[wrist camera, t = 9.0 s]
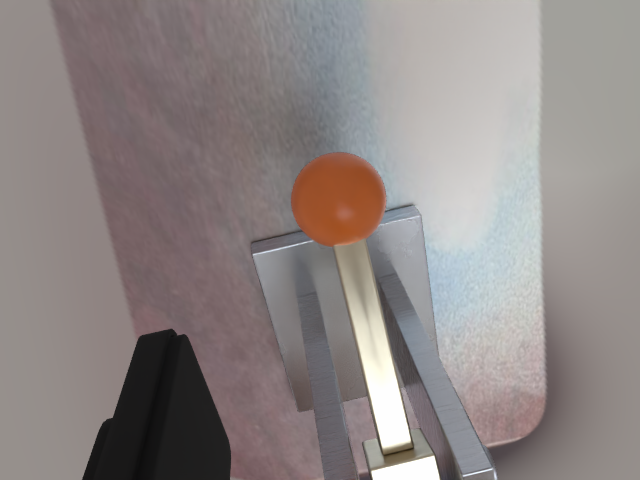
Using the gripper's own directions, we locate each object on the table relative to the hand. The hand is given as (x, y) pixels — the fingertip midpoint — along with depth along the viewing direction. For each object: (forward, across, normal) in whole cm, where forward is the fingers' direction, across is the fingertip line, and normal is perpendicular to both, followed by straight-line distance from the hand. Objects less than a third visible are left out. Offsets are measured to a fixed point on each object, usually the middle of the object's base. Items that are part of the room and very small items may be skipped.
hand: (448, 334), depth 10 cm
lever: (+8, +1, +6) cm, 10 cm away
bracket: (+16, +1, +10) cm, 19 cm away
